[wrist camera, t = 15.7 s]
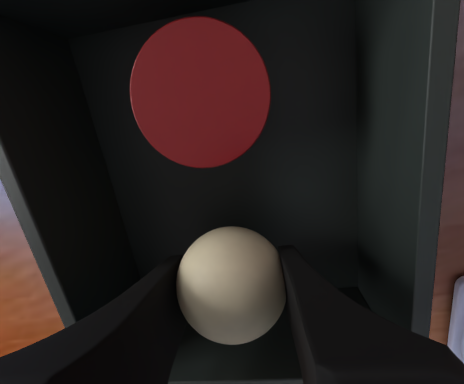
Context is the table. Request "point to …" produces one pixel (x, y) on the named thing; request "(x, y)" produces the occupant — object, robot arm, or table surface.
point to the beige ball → (231, 285)
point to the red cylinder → (200, 92)
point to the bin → (240, 170)
